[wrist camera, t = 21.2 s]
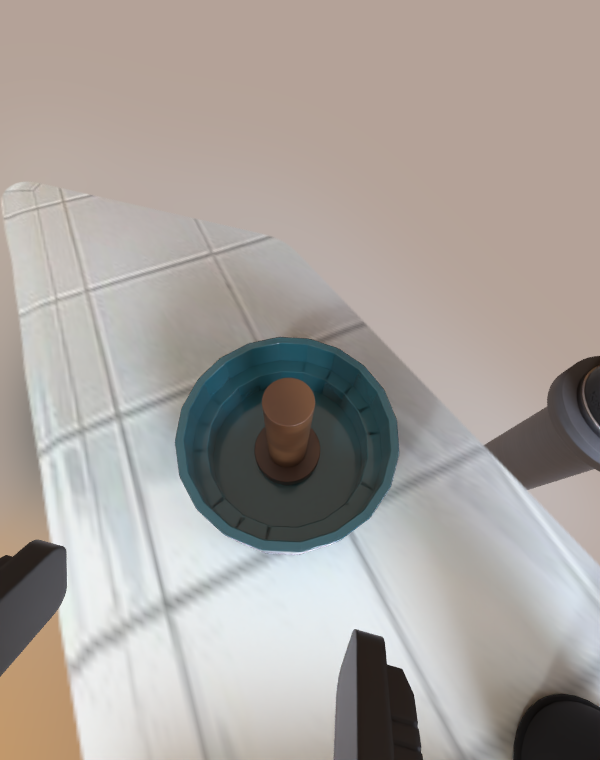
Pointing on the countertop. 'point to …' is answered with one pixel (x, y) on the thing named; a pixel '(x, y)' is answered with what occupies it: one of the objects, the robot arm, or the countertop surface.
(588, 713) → the aerosol can
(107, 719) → the countertop surface
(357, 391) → the bowl
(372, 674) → the robot arm
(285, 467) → the brown wooden peg
